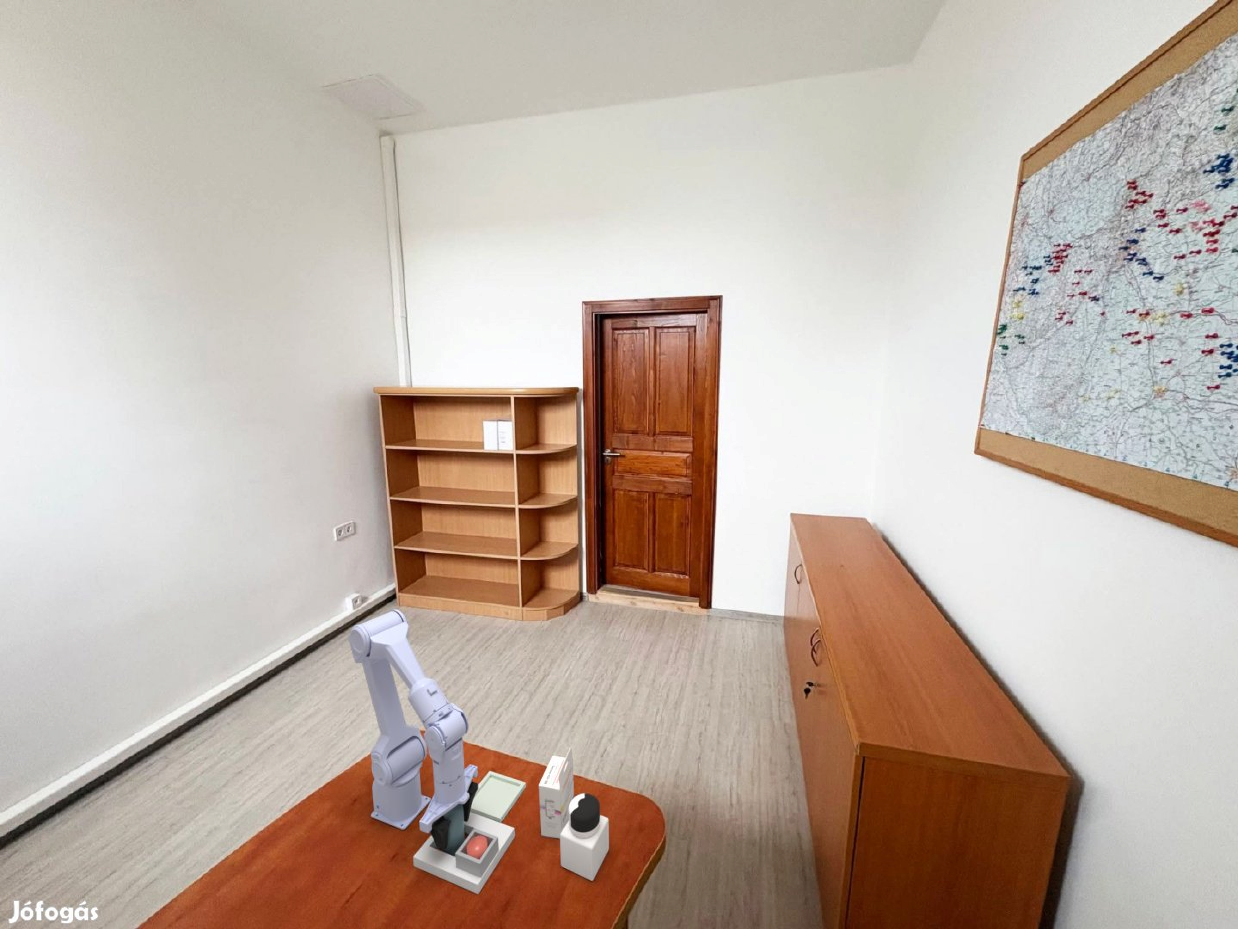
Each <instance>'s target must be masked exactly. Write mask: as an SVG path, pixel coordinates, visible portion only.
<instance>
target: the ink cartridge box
mask: <svg viewBox="0 0 1238 929" xmlns="http://www.w3.org/2000/svg"><path fill="white" fill-rule="evenodd" d="M568 749H569V750H568V751H567V754H566V757H564V756H557V755H552V756H551V758H550V761H549V763H548V765H547V766H546V769H545V771H544V772H543V775H542V777H541V779H540V782H539V784H538V793H539V794H538V796H539V814H540V815H539V816H540V818H539V819H540V832H541V833H540V835H541V836H543V837H547V838H554V839H559V840H560V833H561V832H562V830H563V829H564V827H565V826H566V824H567V822H568V821H569V804H570V802H571V801H572V799H573V798H574V797H575V788H574V787H575V785H574V782H575V780H574V758H573V750H572V747H571V746H570V747H569V748H568Z"/></svg>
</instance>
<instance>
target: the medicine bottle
mask: <svg viewBox="0 0 1238 929" xmlns="http://www.w3.org/2000/svg"><path fill="white" fill-rule="evenodd" d="M600 808H601V805H600V801H599V800H598V798H597V797H596V796H595V795H593V794H591V793H585V792H584V793H579V794H578V795H576V796H574V798H573V799H572V801H571V802H570V804H569V821H568V822H567V824H566V826H565V827H564V829H563V830H562V832H561V833H560V839H559V845H560V846H559V848H560V866H561V867H562V868H565V869H567V870H568V871H570V872H572V873H575V874H577V875H579V876H580V877H582V878H585V879H587V880H589V881H591V882H593V881H594V880H595V879H596V878H595V877H596V875H597V874H598V872H599V870H600V868H601V866H602V864H603V861H604V860H605V858H606V856H607V854H608V852H609V849H610V834H609V833H610V830H609V828H610V827H609V826H610V825H609V824H610V823H609V822H610V820H609V818H608V817H606V816H604V815H601V809H600Z"/></svg>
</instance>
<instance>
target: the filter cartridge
mask: <svg viewBox="0 0 1238 929" xmlns="http://www.w3.org/2000/svg"><path fill="white" fill-rule="evenodd" d="M443 816H444V818H445V819H448V820H450V821H451V823H450V826H449V830H448V845H447V848H446V849H445V850H442V849H441V851H442V852H444V853H447V854H449V855H451V856H454V857H455V853H456V852H457V851H458V849H459V848H460V847H461V845H462V844H463V843H464V841H465V840H466V835H465V834H466V833H465V830H464V813H463V805H462V804H458V805H456V806H455V807H454V808H452V809H451V810H449V811H448V812H447V813H445V814H444V815H443Z"/></svg>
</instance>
